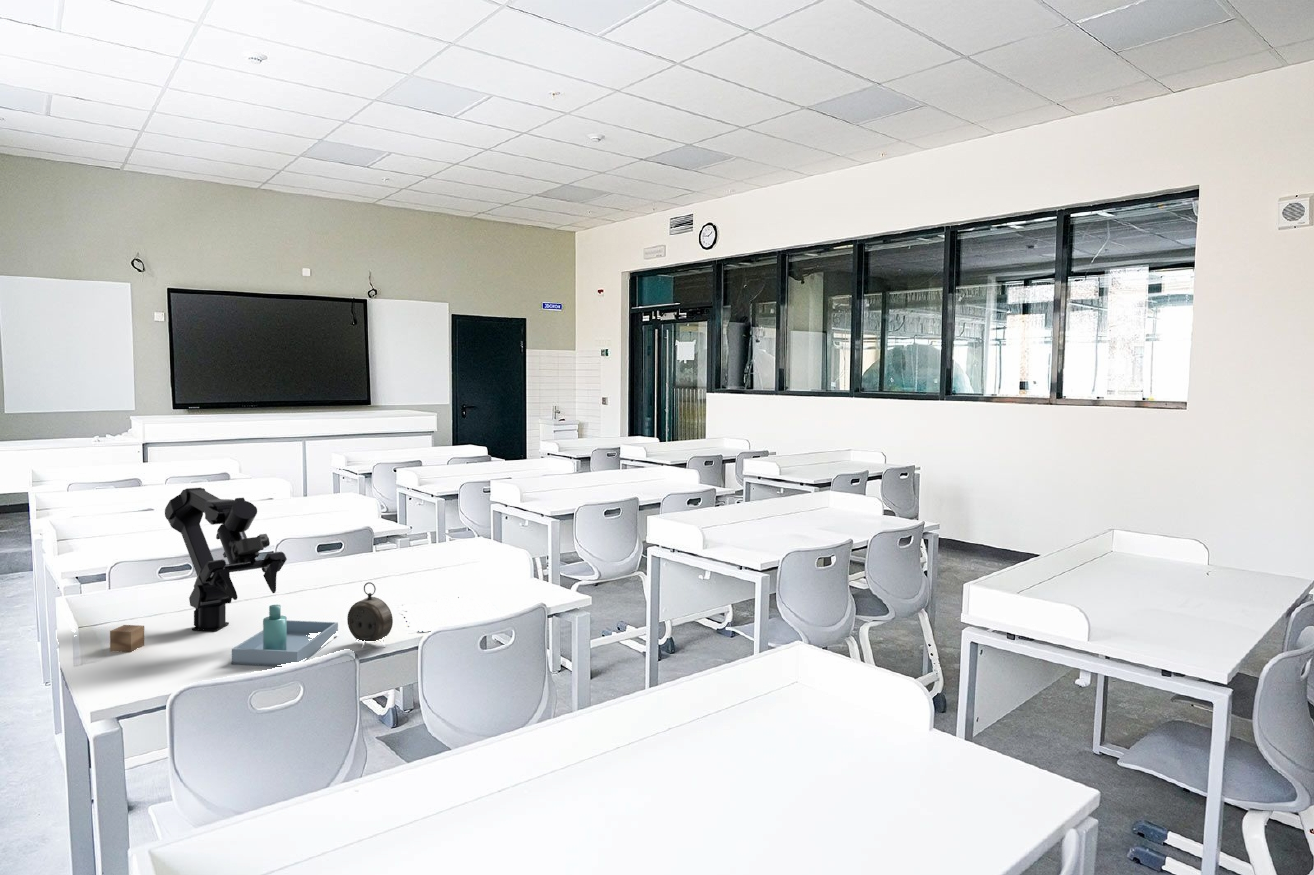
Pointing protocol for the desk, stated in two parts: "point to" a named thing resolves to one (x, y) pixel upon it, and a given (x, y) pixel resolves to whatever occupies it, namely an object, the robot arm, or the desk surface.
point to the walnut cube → (127, 638)
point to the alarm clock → (370, 618)
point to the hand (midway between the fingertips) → (255, 595)
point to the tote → (296, 644)
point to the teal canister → (275, 630)
